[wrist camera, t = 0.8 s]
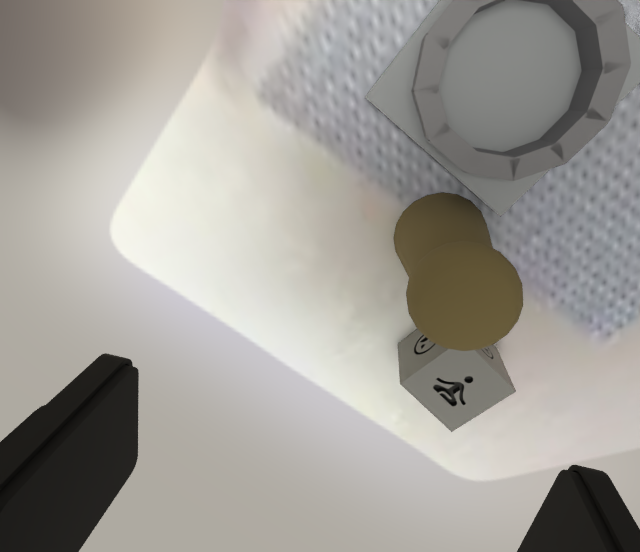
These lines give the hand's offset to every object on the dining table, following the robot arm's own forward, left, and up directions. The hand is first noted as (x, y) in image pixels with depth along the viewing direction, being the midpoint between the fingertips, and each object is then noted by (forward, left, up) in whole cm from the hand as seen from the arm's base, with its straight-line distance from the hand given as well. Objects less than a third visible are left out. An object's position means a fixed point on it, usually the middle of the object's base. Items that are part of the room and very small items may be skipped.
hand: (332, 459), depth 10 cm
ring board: (-1, -11, -21) cm, 24 cm away
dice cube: (-11, +4, -22) cm, 24 cm away
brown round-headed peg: (-5, -2, -22) cm, 22 cm away
